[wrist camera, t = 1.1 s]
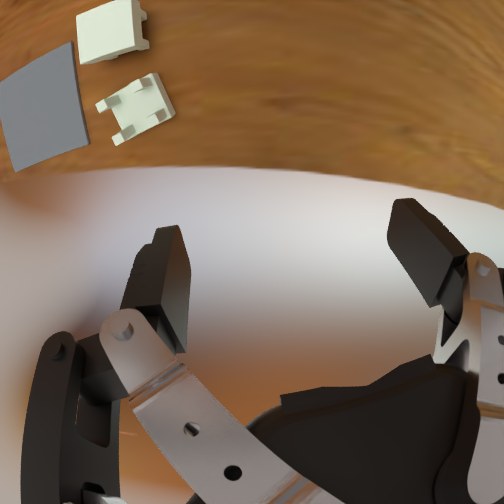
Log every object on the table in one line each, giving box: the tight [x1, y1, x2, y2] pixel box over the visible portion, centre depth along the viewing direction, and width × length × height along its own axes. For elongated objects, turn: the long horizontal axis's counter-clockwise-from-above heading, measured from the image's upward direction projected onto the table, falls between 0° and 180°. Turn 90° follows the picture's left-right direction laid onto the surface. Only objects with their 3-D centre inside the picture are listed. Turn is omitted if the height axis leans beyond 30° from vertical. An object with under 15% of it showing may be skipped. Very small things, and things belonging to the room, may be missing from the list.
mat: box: [0, 41, 90, 172], centre depth 22 cm, size 14×14×1 cm
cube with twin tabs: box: [76, 0, 150, 64], centre depth 17 cm, size 6×6×7 cm
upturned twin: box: [95, 73, 176, 146], centre depth 23 cm, size 6×6×7 cm
